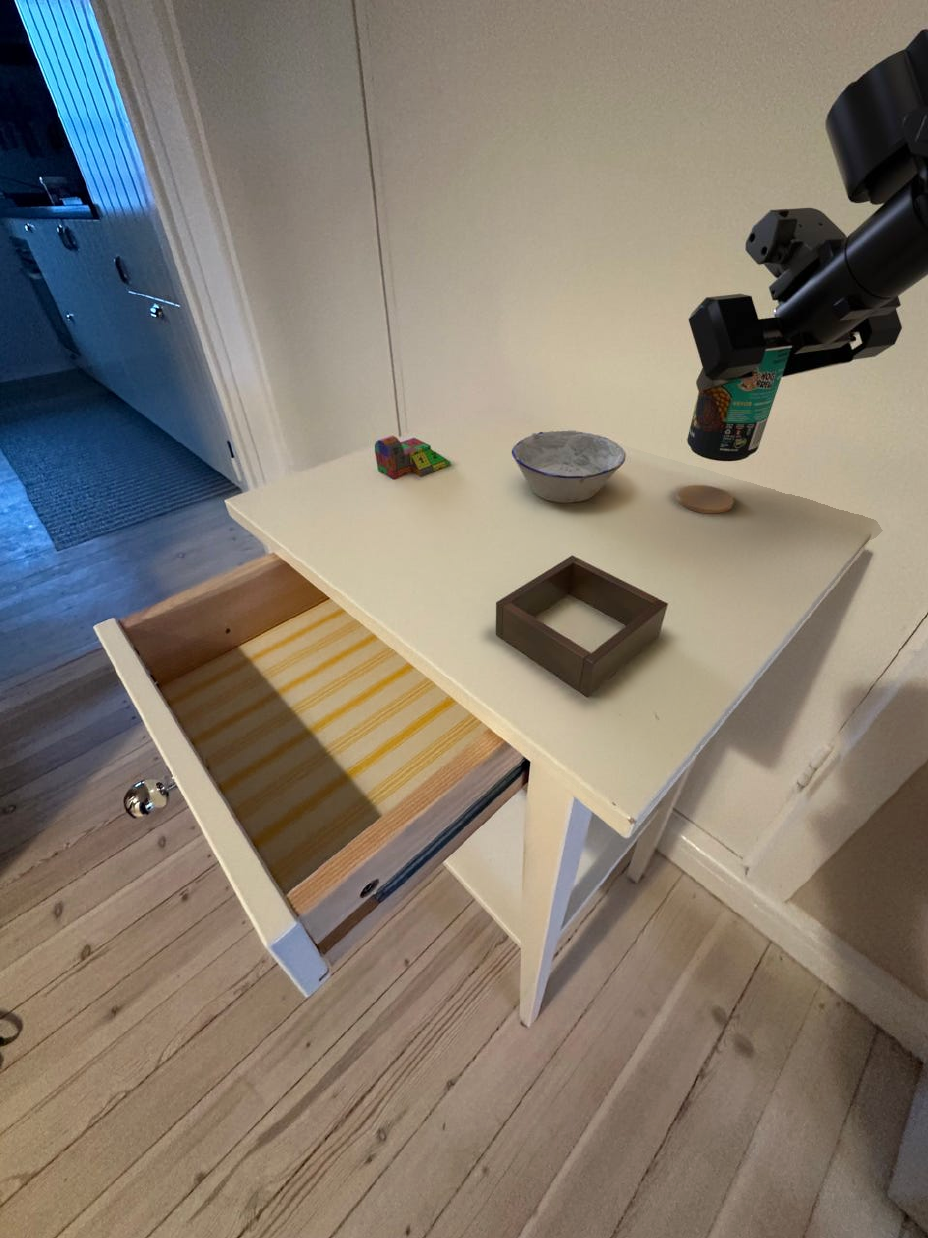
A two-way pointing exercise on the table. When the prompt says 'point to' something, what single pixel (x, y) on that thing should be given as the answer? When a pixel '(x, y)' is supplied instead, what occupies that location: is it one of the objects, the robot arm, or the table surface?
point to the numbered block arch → (407, 457)
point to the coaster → (705, 499)
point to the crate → (558, 650)
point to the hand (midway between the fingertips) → (729, 382)
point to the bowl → (567, 464)
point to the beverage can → (736, 412)
